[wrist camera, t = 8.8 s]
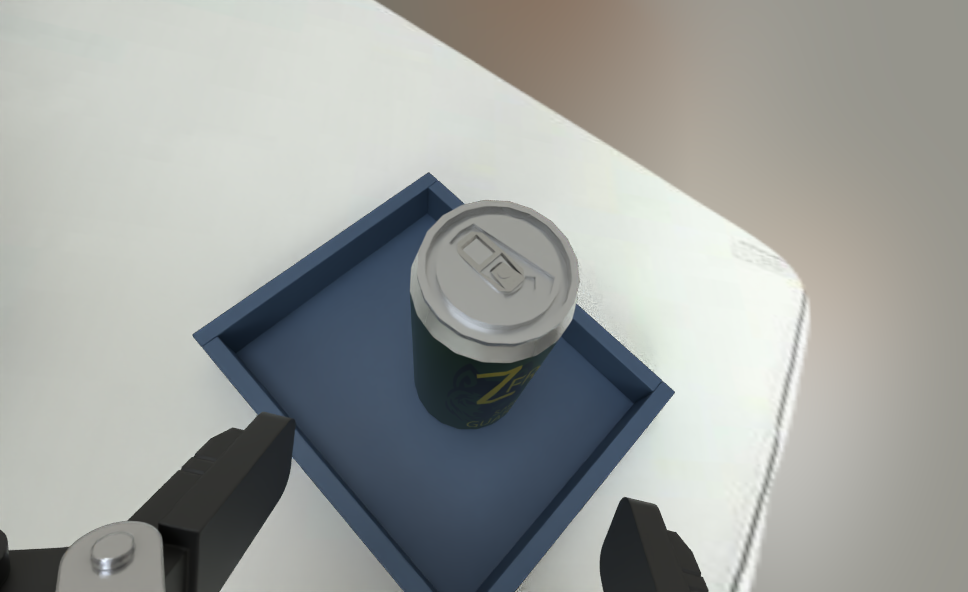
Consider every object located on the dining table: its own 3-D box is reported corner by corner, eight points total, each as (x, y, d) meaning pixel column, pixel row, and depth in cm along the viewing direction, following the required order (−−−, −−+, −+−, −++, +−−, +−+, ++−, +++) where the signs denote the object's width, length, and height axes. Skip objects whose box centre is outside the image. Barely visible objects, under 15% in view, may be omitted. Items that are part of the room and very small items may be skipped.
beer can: (392, 378, 25) (370, 260, 14) (466, 312, 27) (496, 167, 16) (466, 456, 24) (503, 392, 13) (538, 381, 26) (621, 272, 15)
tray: (215, 355, 25) (191, 334, 22) (428, 202, 30) (428, 171, 28) (455, 643, 21) (460, 660, 18) (650, 405, 26) (675, 391, 24)
